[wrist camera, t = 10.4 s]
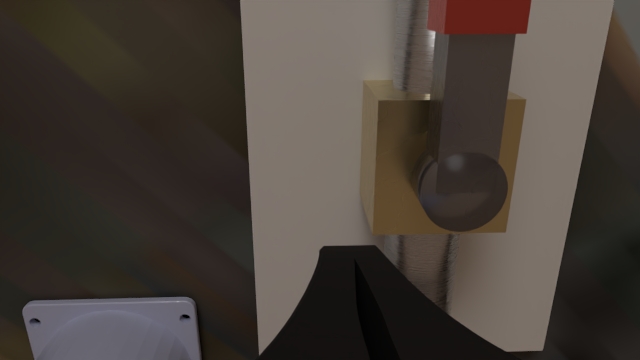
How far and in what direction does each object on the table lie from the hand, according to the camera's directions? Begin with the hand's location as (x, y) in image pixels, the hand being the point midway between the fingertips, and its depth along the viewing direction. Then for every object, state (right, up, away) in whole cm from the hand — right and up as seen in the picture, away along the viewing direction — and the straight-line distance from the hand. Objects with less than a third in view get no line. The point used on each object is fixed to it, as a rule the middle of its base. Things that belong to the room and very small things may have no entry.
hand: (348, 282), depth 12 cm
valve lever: (+4, +6, +3) cm, 8 cm away
